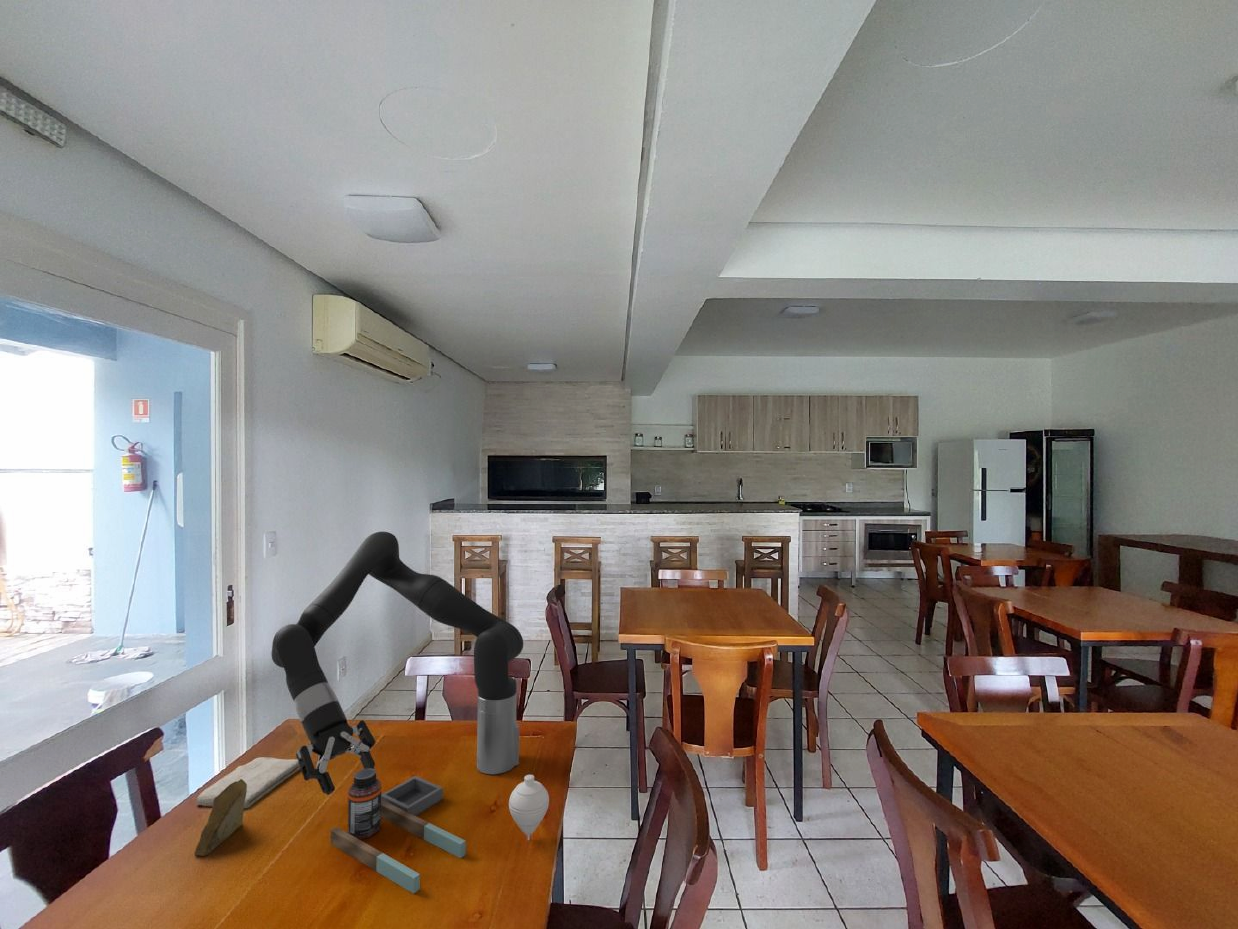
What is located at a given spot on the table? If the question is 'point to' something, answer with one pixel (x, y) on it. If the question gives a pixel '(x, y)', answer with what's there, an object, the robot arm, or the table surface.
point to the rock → (223, 817)
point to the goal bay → (407, 875)
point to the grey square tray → (414, 795)
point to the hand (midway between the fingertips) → (351, 782)
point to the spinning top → (528, 804)
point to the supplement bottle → (364, 804)
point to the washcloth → (253, 779)
